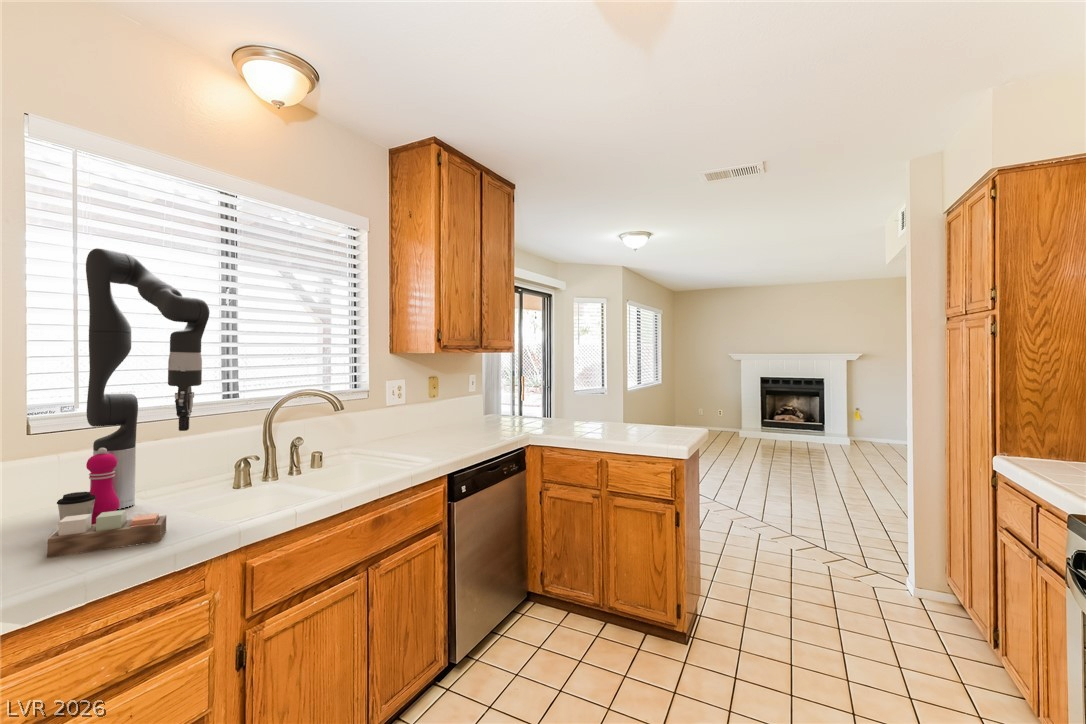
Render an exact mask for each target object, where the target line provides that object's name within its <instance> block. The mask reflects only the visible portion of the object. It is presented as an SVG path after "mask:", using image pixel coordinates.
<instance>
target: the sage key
mask: <svg viewBox="0 0 1086 724" xmlns="http://www.w3.org/2000/svg"><path fill="white" fill-rule="evenodd" d="M126 520H127V509H119V510H116V511H111V512H102V513H101V514H100V515H99V516H98V517H97V518H96V531H102V530H109V529H117V528H123V527H124V526H125V524H126Z"/></svg>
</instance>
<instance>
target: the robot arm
mask: <svg viewBox="0 0 1086 724" xmlns="http://www.w3.org/2000/svg"><path fill="white" fill-rule="evenodd" d="M85 274H86V275H85V276H86V284H87V292H88V302H89V306H88V307H89V308H88V309H89V311H88V314H89V319H88V320H89V321H88V324H89V325H88V358H89V360H88V361H89V362H88V363H89V372H88V374H89V377H88V386H87V387H88V388H87V389H88V390H87V398H86V399H87V400H86V401H87V402H86V420H87V423H88V424H89V426H90V427H93V428H94V427H109V426H110V427H111V426H119V428H118V429H117V430H116V431H114V432H112V433H109V434H108V435H106V436H103V437H100V438H98V439H95V440H94V441H93V444H92V445H93V446H92V447H93V448H92V450H93V451H92V452H93V453H92V454H93V455H92V456H94V455H96V454H99V453H98V450H99V449H100V448H106V449H107V452H106V453H108V454H112V455H114V456H115V457H116V458H117V466H116V467H115V468H114V469H113V471H115V472H114V475H115V476H113V478H112V485H113V489H114V491H115V493H116V495H117V496H118V499H119V502H120V506H119V508H118V509H119V510H122V509H121V508H124V509H126V508H125V507H128V508H130V507H129V506H131V507H133V506H134V505H135V503H136V449H137V447H136V445H137V443H136V442H137V423H138V416H139V415H138V414H139V412H138V411H139V402H138V398H137V397H136V395H135V394H133V393H108V394H107V393H106V394H105V389H106V386H107V383H108V381H109V379H110V377H111V376H112V375H113V373H114V372H115V371H116V369H117V368H119V367H120V365H121V364H122V363H123V362H124V361H125V359H126V358H128V355H129V354H130V352H131V350H132V327H131V325H130V322H129V321H128V319H127V317H126V316H125V314H124V313H123V312H122V310H121V309H120V308H119V306H118V304H117V303H116V302H115V299H114V297H113V294H112V293H113V292H112V287H111V286H112V285H111V283H112V284H119V285H129V286H132V287H134V288H137V292H138V294H139V296H140V297H141V298H142V299H143V300H145V301H146V302H148V303H149V304H151V305H152V306H154V307H156V308H157V310H158V311H159V312H160V314H161V315H162V316H163V317H164V318H165V319H167V320H170V322H171V321H173V322H175V323H186V325H185V327H184V329H182V330H176V331H173V332H171V334H170V337H169V356H168V362H167V364H168V366H167V367H168V368H167V385H168V386H170V387H177V391H176V392H174V399H175V400H174V404H175V410H176V416H177V417H178V431H179V432H187V431H189V429H190V417H191V415H192V412H193V411H192V408H193V406H194V398H195V392H194V391H192V387H198V386H201V385H202V380H203V378H202V375H203V374H202V373H203V359H202V339H203V335H204V334H205V333H204V332H205V330H206V326H207V324H208V320H209V318H210V309H209V308H210V307H209V305H208V303H207V302H206V301H205V300H203V299H200V298H195V297H186V296H183V294H182V292H180V291H179V290H178V289H177V288H175V287H174V286H172V285H171V284H168V283H166V282H165V281H164V280H162V279H160V278H159V277H157V276H156V275H154V273H153V272H152V271H150V270H149V269H148V268H147V267H146V266H145V265H144V264H143V263H141V262H140V261H139V260H138V259H137V258H135V256H132V255H130V254H127V253H123V252H118V251H114V250H109V249H105V248H100V247H99V248H97V247H96V248H92V249H91V250H90V251H89V253H88V254H87V257H86V261H85ZM90 489H91V479H89V490H90ZM132 505H133V506H132Z"/></svg>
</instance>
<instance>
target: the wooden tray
mask: <svg viewBox="0 0 1086 724" xmlns="http://www.w3.org/2000/svg"><path fill="white" fill-rule="evenodd" d="M133 519H134V518H132V519H126V524H125V526H124V527H123V528H117V529H109V530H102V531H96V524H91V529H90V530H89V531H88V532H86V533H78V534H71V535H63V536H59V529H58V530H57V531H55V532H54V533H53V534H52V535H51V536H49V537H48V538H47V539H46V540H47V541H46V558H56V557H61V556H62V557H63V556H69V555H75V554H81V553H89V552H97V551H104V550H110V548H111V549H117V547H118V548H123V547H122V546H125V547H130V546H129V545H132V546H137V545H136V544H139V545H143V544H142V543H146V544H151V542H153V543H158V541H160V542H161V541H162V539H163V538H164V536H163V535H165V534H166V532H167V515H166V514H165V515H159V520H158V522H157V523H156V524H155V523H150V524H142V525H134V526H131V521H132V520H133ZM165 531H166V532H165ZM164 533H165V534H164ZM162 537H163V538H162Z"/></svg>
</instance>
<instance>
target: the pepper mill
mask: <svg viewBox="0 0 1086 724" xmlns="http://www.w3.org/2000/svg"><path fill="white" fill-rule="evenodd" d="M106 452H107V449H106V448H100V449H99V450H98V453H99V454H96V455H94V456H93V455H92V456H91V457H89V458H88V459H87V461H86V463H85V464H86V466H85V467H86V469H87V471H89V472H90V473H89V474H88V476H89V477H88V479H89V480H90V479H91V489H90V488H89V492H90V494H91V495H95V497H96V499H95V501H94V507H93V513H92V519H91V524H96V518H97V517H98V516H99V515H100V514H101V513H102V512H111V511H118V510H117V509H118V508H119V506H120V502H119V499H118V496H117V495H116V493H115V491H114V489H113V485H112V478H113V476H115V475H114V472H115V471H113V469H114V468H115V467H116V466H117V458H116V457H115V456H114V455H112V454H108V453H106Z"/></svg>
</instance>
